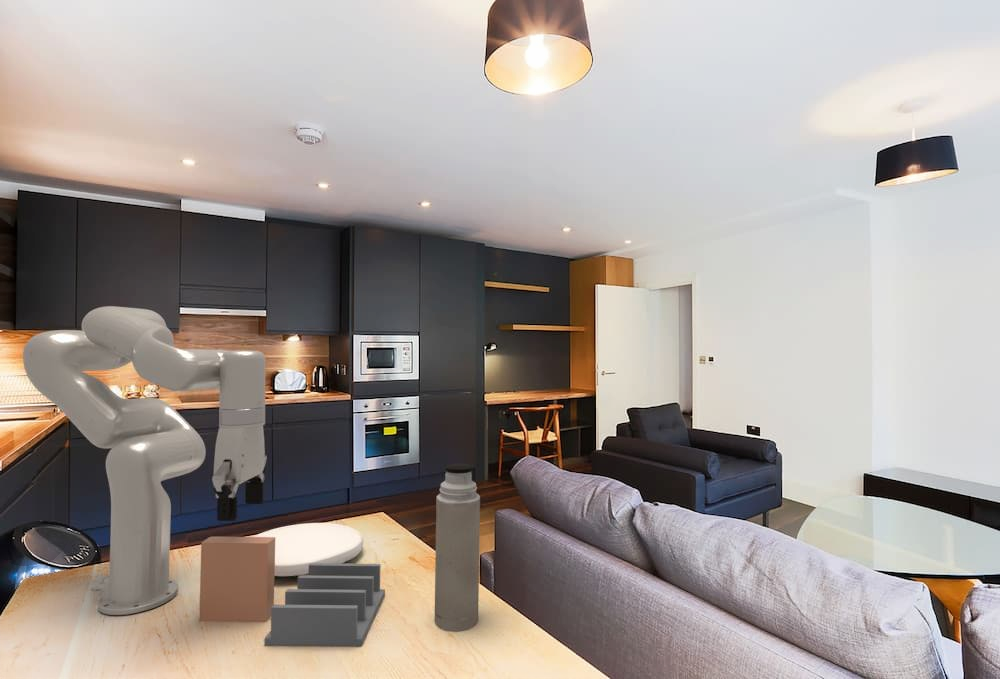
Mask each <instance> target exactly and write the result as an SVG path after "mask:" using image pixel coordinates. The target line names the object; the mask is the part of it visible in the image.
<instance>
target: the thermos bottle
mask: <svg viewBox="0 0 1000 679" xmlns="http://www.w3.org/2000/svg"><path fill="white" fill-rule="evenodd" d="M445 471H446V472H445V476H444V477H445V478H444V479H445V480H444V481H442V482H441V483H440V487H439V494H438V495H436V500H435V501H436V508H435V509H436V510H435V513H436V521H435V562H434V563H435V567H434V568H435V570H434V574H435V576H434V624H435V625H436V626H437V627H438V628H439V629H442V630H445V631H450V632H462V631H466V630H470V629H471V628H473V627H474V626H476V625H477V623H478V622H479V602H480V601H479V595H480V594H479V593H480V592H479V591H480V589H479V588H480V586H479V584H480V581H479V580H480V522H481V521H480V518H481V515H480V514H481V513H480V512H481V511H480V510H481V508H480V507H481V496H480V495H479V494H478V493H477V489H478V487H477V483H476V482H475V481H473V480H472V476H473V475H472V474H473V473H472V471H473V465H472V464H471V465H470V464H468V463H452V464H451V463H450V464H447V465H446V466H445Z"/></svg>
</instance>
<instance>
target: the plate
mask: <svg viewBox="0 0 1000 679" xmlns="http://www.w3.org/2000/svg"><path fill="white" fill-rule="evenodd" d="M253 537H275V577H296V576H297V577H298V576H300V575H308V570H309V564H310V563H338V564H345V562H347V561H350V560H352V559H354V558H355V557H356V556H358V555H359V554H360V552H361V551H362V549H363V546H364V539H363V536H362V533H361V532H360V531H358V530H356V529H354V528H352V526H347V525H346V524H345V525H344V524H339V523H332V522H331V523H330V522H309V523H299V524H291V525H290V524H289V525H285V526H281V527H277V528H276V527H275V528H273V529H270V530H266V531H263V532H261V533H260V532H259V533H258V534H256V535H254V536H253Z"/></svg>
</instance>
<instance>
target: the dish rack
mask: <svg viewBox="0 0 1000 679" xmlns="http://www.w3.org/2000/svg"><path fill="white" fill-rule="evenodd" d="M381 567H382V566H381V563H341V564H338V563H310V564H309V570H308V574H305V575H298V576H297V586H296V587H297V588H287V589H286V590H285V592H284V594H285V595H284V604H274V605H273V606H272V607H271V617H270V631H269V632H268V633H267V634H266V636H265V637H264V643H263V644H264V645H263V646H270V647H271V646H275V647H276V646H278V647H279V646H280V647H282V646H283V647H284V646H286V647H287V646H288V647H292V646H294V647H296V646H297V647H363V644H364V642H365V640H366V637H367V635H368V633H369V631H370V629H371V626H372V625H373V621H374V620H375V618H376V616H377V614H378V611H379V610H380V607H381V605H382V603H383V600H384V598H385V595H386V589H384V588H383V589H381Z"/></svg>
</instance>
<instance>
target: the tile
mask: <svg viewBox="0 0 1000 679" xmlns="http://www.w3.org/2000/svg"><path fill="white" fill-rule="evenodd" d="M275 577H276V576H275V537H254V536H209V537H208V538H206V539H205V540H203V541H201V544H200V577H199V579H200V581H199V582H200V583H199V613H198V614H199V616H198V618H199V620H198V621H199V622H227V623H228V622H230V623H231V622H232V623H233V622H234V623H236V622H237V623H267V622H268V621H269V620H270V619H271V607H272V606H273V605H275Z"/></svg>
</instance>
